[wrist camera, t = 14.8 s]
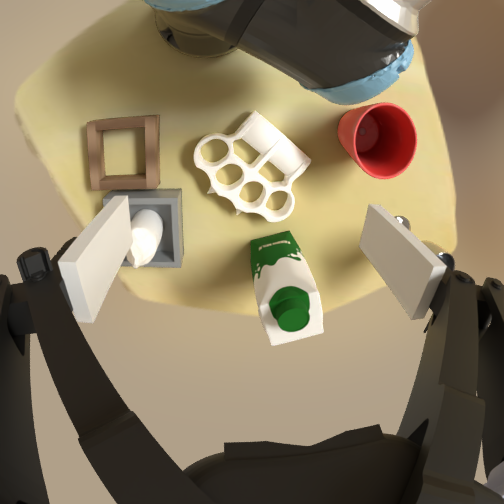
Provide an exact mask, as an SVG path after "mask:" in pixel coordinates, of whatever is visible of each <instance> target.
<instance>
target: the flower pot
mask: <svg viewBox="0 0 504 504" xmlns="http://www.w3.org/2000/svg"><path fill="white" fill-rule="evenodd" d="M338 138H339V141H340V143H341V145H342V146H343V147H344V148H345V150H346V151H347V152H348V154H349V155H350V156H351V157H352V159H353V160H354V161H355V162H356V163H357V164H358V165H359V167H360V168H361V169H362V170H363V171H364V172H366V173H367V174H368V175H370V176H372V177H374V178H378V179H390V178H393V177H396V176H398V175H399V174H401V173H402V172H404V171H405V170H406V169H407V167H408V166H409V165H410V163H411V161H412V160H413V157H414V155H415V151H416V147H417V134H416V129H415V126H414V123H413V121H412V119H411V118H410V116H409V115H408V114H407V112H406V111H405V110H404V109H402V108H401V107H399V106H398V105H395V104H392V103H377V104H372V105H367V106H363V107H359V108H356V109H353V110H350V111H348V112H347V113H345V114H344V116H343V117H342V118H341V120H340V122H339V125H338Z"/></svg>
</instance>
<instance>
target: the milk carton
mask: <svg viewBox="0 0 504 504" xmlns="http://www.w3.org/2000/svg"><path fill="white" fill-rule="evenodd" d="M251 269H252V276H253V283H254V289H255V295H256V300H257V305H258V308H259V309H258V312H259V316H260V319H261V322H262V325H263V327H264V329H265V331H266V333H267V335H268V337H269V340H270V343H271V345H272V346H274V345H278V344H282V343H286V342H290V341H294V340H298V339H302V338H305V337H309V336H313V335H316V334H320V333H323V324H322V321H323V313H322V306H321V300H320V294H319V292H318V290H317V287H316V283H315V281H314V278H313V276H312V274H311V271H310V269H309V267H308V265H307V262H306V260H305V258H304V256H303V254H302V252H301V250H300V248H299V246H298V244H297V243H296V241H295V239H294V238H293V236H292V234H291V233H290V231H286V232H283V233H279V234H275V235H271V236H267V237H263V238H259V239H255V240H251Z"/></svg>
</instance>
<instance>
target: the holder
mask: <svg viewBox="0 0 504 504" xmlns="http://www.w3.org/2000/svg"><path fill="white" fill-rule="evenodd" d="M135 127H145V157H146V174H135V175H111V176H106V175H105V162H104V145H103V130H109V129H121V128H135ZM87 142H88V157H89V169H90V180H91V189H92V190H115V189H156V188H157V187H158V185H159V184H160V157H159V115H148V116H133V117H120V118H110V119H101V120H93V121H90V122H87Z"/></svg>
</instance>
